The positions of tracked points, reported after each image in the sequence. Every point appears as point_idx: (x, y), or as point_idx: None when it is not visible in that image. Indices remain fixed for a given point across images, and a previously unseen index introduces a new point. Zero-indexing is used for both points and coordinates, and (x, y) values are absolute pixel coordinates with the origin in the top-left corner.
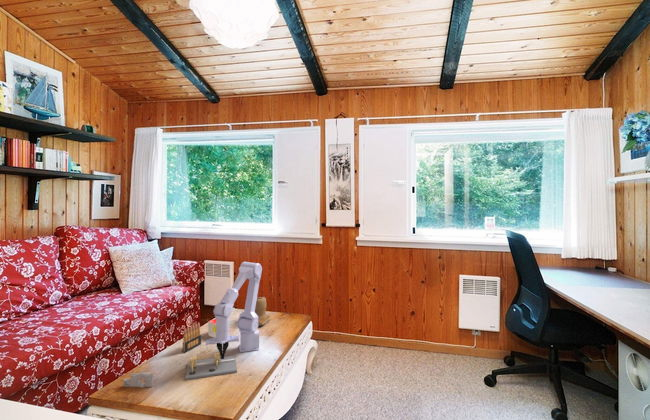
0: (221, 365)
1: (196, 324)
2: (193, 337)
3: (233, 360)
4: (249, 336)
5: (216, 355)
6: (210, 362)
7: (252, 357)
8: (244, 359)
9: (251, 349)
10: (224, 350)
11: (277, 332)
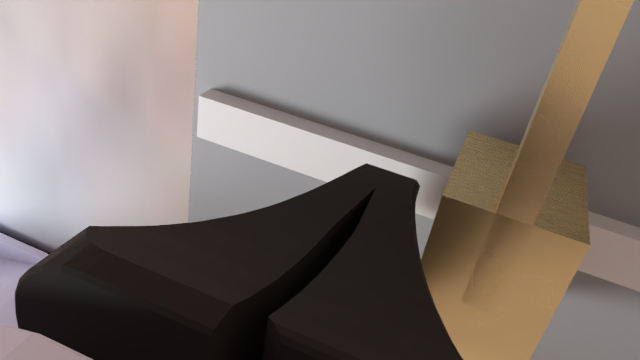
0: (454, 64)
1: None
2: None
3: (224, 99)
4: None
5: (503, 278)
6: (623, 262)
7: (10, 92)
8: (100, 101)
9: (15, 257)
10: (271, 233)
11: None
